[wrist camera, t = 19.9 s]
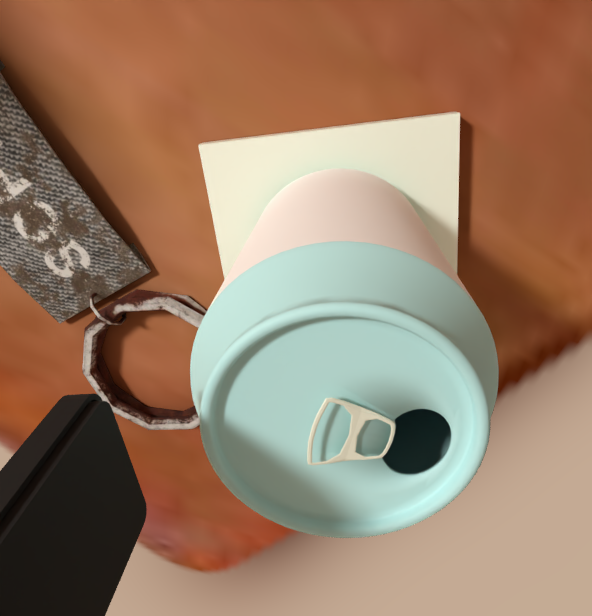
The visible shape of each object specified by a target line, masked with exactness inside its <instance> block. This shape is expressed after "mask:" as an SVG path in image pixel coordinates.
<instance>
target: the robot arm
mask: <svg viewBox="0 0 592 616" xmlns="http://www.w3.org/2000/svg"><path fill="white" fill-rule="evenodd" d="M145 518H146V502H145V499H144V496H143V494H142V491H141V488H140V485H139V483H138V480H137V477H136V474H135V471H134V469H133V466H132V463H131V460H130V458H129V455H128V452H127V449H126V446H125V444H124V441H123V438H122V435H121V433H120V430H119V427H118V424H117V422H116V419H115V416H114V413H113V410H112V408H111V406H110V404H109V403H108V402H107V401H102V399H101V397H100V396H99V395H97V394H79V395H66V396H63V397H62V398H61V399H60V400H59V401H58V402H57V403H56V405H55V406H54V407H53V408H52V409H51V411H50V412H49V413H48V414H47V415H46V417H45V418H44V419H43V420H42V421H41V423H40V424H39V425H38V426H37V427H36V429H35V430H34V431H33V432H32V433H31V435H30V436H29V437H28V438H27V439H26V441H25V442H24V443H23V444H22V445H21V447H20V448H19V449H18V450H17V452H16V453H15V454H14V455H13V456H12V458H11V459H10V460H9V461H8V462H7V464H6V465H5V466H4V467H3V468H2V470H1V471H0V616H105V614H106V612H107V609H108V607H109V605H110V602H111V600H112V598H113V595H114V593H115V591H116V588H117V586H118V584H119V581H120V579H121V576H122V574H123V572H124V569H125V567H126V565H127V562H128V560H129V558H130V555H131V553H132V551H133V548H134V546H135V544H136V541H137V539H138V537H139V534H140V532H141V530H142V527H143V525H144V522H145Z"/></svg>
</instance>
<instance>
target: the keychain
mask: <svg viewBox="0 0 592 616" xmlns="http://www.w3.org/2000/svg"><path fill="white" fill-rule="evenodd" d="M4 68H5V66H4V64H3V63H2V62H1V60H0V71H1V70H2V69H4ZM0 265H1V266H2V267H3V269H4V270H5V271H6V272H7V273H8V274H9V275H10V276H11V278H12V279H13V280H14V281H15V282H16V283H17V284H18V285H19V286H21V287H22V288H23V289H24V290H25V291H26V292H27V293H28V294H29V295H30V296H31V297H32V298H33V299H34V300H35V301H36V302H38V303H39V304H40V305H41V306H42V307H43V308H44V309H45V310H46V311H47V312H48V313H49V314H50V315H51V316H52V317H54V318H55V319H56V320H57V321H58V322H59V323H62V322H64V321H65V320H67V319H69V318H71V317H72V316H74V315H76V314H78V313H79V312H81V311H83V310H85V309H86V308H88V307H91V309H92V310H93V312H94V313H95V314H96V318H95V319H94V320H93V321H92V322H91V323H90V324H89V325H88V326H87V327H86V328H85V335H84V354H83V374H84V375H85V376H86V378H87V379H88V381H89V382H90V384H91V385H92V387H93V388H94V390H95V391H96V393H97V394H98V395H99V396H100V397H101V399H102V401H107V402H108V403H109V404H110V406H111V408H112V410H113V412H114V413H116V414H118V415H120V416H122V417H124V418H126V419H128V420H130V421H132V422H134V423H136V424H138V425H140V426H142V427H144V428H146V429H148V430H165V429H193V428H196V427H197V426H199V425H200V419H199V416H198V414H197V411H196V408H195V406H193V407H191V408H189V409H187V410H185V411H177V410H169V409H161V408H153V407H146V406H144V405H143V404H142V403H140V402H139V401H137V400H136V399H134V398H133V397H132V396H130V395H129V394H127V393H126V392H125V391H123V390H122V389H120V388H119V387H118V386H116V385H115V384H114V383H113V380H112V378H111V376H110V373H109V371H108V369H107V367H106V364H105V362H104V360H103V357H102V355H101V353H100V351H101V348H102V345H103V341H104V338H105V335H106V331H107V328H108V327H109V326H110V325H121V324H122V323H123V322H124V321H125V320H126V313H125V312H135V311H157V310H167V311H169V312H170V313H172V314H174V315H176V316H178V317H179V318H181V319H183V320H185V321H187V322H188V323H190V324H192V325H194V326H196V327H198V328H199V326H200V324H201V322H202V320H203V318H204V316H205V314H206V312H207V311H206V310H205V309H203V308H202V307H201V306H200V305H198V304H197V303H196V302H195V301H193V300H192V299H191V298H190V297H188V296H186V295H177V294H169V293H161V292H153V291H145V290H135V291H133V292H131V293H129V294H128V295H126V296H124V297H122V298H121V299H117V300H116V301H115V302H113V303H112V304H110V305H108V306H106V307H105V308H103V309H101V310H99V311H98V310H97V309H96V307H95V306H94V304H95V303H97V302H99V301H100V300H102V299H104V298H106V297H107V296H109V295H111V294H113V293H114V292H116V291H118V290H120V289H121V288H123V287H125V286H127V285H128V284H130V283H132V282H133V281H135V280H137V279H139V278H140V277H142V276H144V275H146V274H147V273H149V272H150V271H151V269H150V268H149V266H148V264H147V263H146V261H145V259H144V258H143V256H142V254H141V253H140V252H139V250H138V249H137V247H136V246H135V245H134V243H132V244H130V245H129V246H128V245H127V244H126V242H125V241H124V240H123V239H122V238H121V237H120V236H119V234H118V233H117V232H116V231H115V230H114V229H113V227H112V226H111V225H110V224H109V223H108V222H107V220H106V219H105V218H104V216H103V215H102V214H101V212H100V211H99V210H98V209H97V207H96V206H95V205H94V203H93V202H92V201H91V199H90V198H89V197H88V195H87V194H86V193H85V191H84V190H83V189H82V187H81V186H80V185H79V183H78V182H77V181H76V179H75V178H74V177H73V176H72V174H71V173H70V172H69V170H68V169H67V168H66V166H65V165H64V164H63V162H62V161H61V159H60V158H59V157H58V155H57V154H56V152H55V151H54V150H53V148H52V147H51V145H50V144H49V143H48V141H47V140H46V138H45V137H44V136H43V134H42V133H41V131H40V130H39V129H38V127H37V126H36V124H35V123H34V122H33V120H32V119H31V117H30V116H29V115H28V113H27V112H26V110H25V109H24V108H23V106H22V105H21V103H20V102H19V101H18V99H17V98H16V96H15V94H14V93H13V91H12V90H11V88H10V86H9V85H8V83H7V82H6V80H5V78H4V77H3V75H2V74H1V72H0ZM121 315H122V319H121V320H120V321H119V322H114V321H116V320H117V319H118V318H119V317H120V316H121Z"/></svg>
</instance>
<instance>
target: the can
mask: <svg viewBox="0 0 592 616" xmlns="http://www.w3.org/2000/svg"><path fill="white" fill-rule="evenodd" d="M498 376H499V368H498V357H497V352H496V347H495V342H494V340H493V337H492V334H491V331H490V328H489V326H488V324H487V322H486V320H485V318H484V316H483V314H482V313H481V311H480V310H479V308H478V307H477V305H476V303H475V302H474V300H473V299H472V297H471V296H470V294H469V293H468V291H467V290H466V288H465V287H464V285H463V283H462V282H461V280H460V279H459V277H458V276H457V274H456V273H455V271H454V270H453V268H452V267H451V265H450V263H449V262H448V260H447V259H446V257H445V256H444V254H443V253H442V251H441V250H440V248H439V247H438V245H437V243H436V242H435V240H434V239H433V237H432V236H431V234H430V233H429V231H428V230H427V228H426V226H425V225H424V223H423V222H422V220H421V219H420V217H419V216H418V214H417V213H416V211H415V210H414V208H413V206H412V205H411V203H410V202H409V201H408V200H407V198H406V197H405V196H404V195H403V194H402V193H401V192H400V191H399V190H398V189H396V188H395V187H394V186H393V185H391V184H390V183H388V182H387V181H385V180H383V179H381V178H379V177H377V176H375V175H373V174H370V173H367V172H363V171H360V170H354V169H344V168H337V169H326V170H321V171H316V172H313V173H310V174H307V175H305V176H303V177H300V178H298V179H296V180H295V181H293V182H291V183H290V184H288V185H287V186H286V187H284V188H283V189H282V190H281V191H280V192H279V193H277V194H276V195H275V197H274V198H273V199H272V200H271V201H270V202H269V204H268V205H267V206H266V208H265V210H264V211H263V213H262V215H261V216H260V218H259V220H258V222H257V224H256V225H255V227H254V229H253V231H252V232H251V234H250V236H249V238H248V240H247V241H246V243H245V245H244V247H243V248H242V250H241V252H240V254H239V256H238V257H237V259H236V261H235V263H234V264H233V266H232V268H231V270H230V272H229V273H228V275H227V277H226V279H225V280H224V282H223V284H222V286H221V288H220V289H219V291H218V293H217V295H216V296H215V298H214V300H213V302H212V304H211V305H210V307H209V309H208V311H207V312H206V314H205V316H204V318H203V320H202V322H201V324H200V326H199V329H198V331H197V334H196V337H195V341H194V344H193V349H192V354H191V365H190V377H191V390H192V396H193V401H194V404H195V408H196V411H197V414H198V416H199V419H200V432H201V438H202V442H203V446H204V449H205V452H206V454H207V457H208V459H209V461H210V463H211V465H212V467H213V469H214V471H215V472H216V474H217V475H218V477H219V478H220V480H221V481H222V482H223V483H224V484H225V486H226V487H227V488H228V489H229V490H230V491H231V492H232V493H233V494H234V495H235V496H236V497H237V498H238V499H239V500H241V501H242V502H243V503H244V504H245V505H247V506H248V507H250V508H251V509H252V510H254V511H255V512H257V513H259V514H260V515H262V516H264V517H265V518H267V519H269V520H271V521H273V522H275V523H278V524H280V525H282V526H285V527H287V528H290V529H294V530H297V531H300V532H304V533H308V534H312V535H318V536H325V537H336V538H359V537H369V536H376V535H381V534H386V533H390V532H394V531H398V530H401V529H404V528H407V527H409V526H412V525H414V524H416V523H418V522H421V521H422V520H424V519H426V518H428V517H430V516H432V515H433V514H435V513H437V512H438V511H440V510H441V509H443V508H444V507H445V506H447V505H448V504H449V503H450V502H452V501H453V500H454V499H455V498H456V497H457V496H458V495H459V494H460V493H461V492H462V491H463V490H464V488H465V487H466V486H467V485H468V484H469V483H470V481H471V480H472V478H473V477H474V475H475V474H476V472H477V470H478V468H479V467H480V465H481V463H482V460H483V458H484V455H485V452H486V449H487V445H488V442H489V435H490V418H491V415H492V413H493V410H494V406H495V402H496V398H497V391H498Z"/></svg>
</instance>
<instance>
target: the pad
mask: <svg viewBox="0 0 592 616" xmlns="http://www.w3.org/2000/svg"><path fill="white" fill-rule="evenodd" d="M459 144H460V113H458V112H449V113H440V114H432V115H424V116H416V117H408V118H400V119H392V120H383V121H375V122H367V123H359V124H351V125H343V126H334V127H326V128H318V129H310V130H302V131H294V132H285V133H277V134H269V135H261V136H253V137H245V138H237V139H228V140H220V141H212V142H204V143H201V144H199V151H200V156H201V161H202V166H203V171H204V176H205V181H206V187H207V192H208V197H209V202H210V207H211V212H212V217H213V223H214V228H215V233H216V238H217V243H218V248H219V253H220V258H221V264H222V269H223V274H224V279H226V277H227V275H228V273H229V272H230V270H231V268H232V266H233V264H234V263H235V261H236V259H237V257H238V256H239V254H240V252H241V250H242V248H243V247H244V245H245V243H246V241H247V240H248V238H249V236H250V234H251V232H252V231H253V229H254V227H255V225H256V224H257V222H258V220H259V218H260V216H261V215H262V213H263V211H264V210H265V208H266V206H267V205H268V204H269V202H270V201H271V200H272V199H273V198H274V197H275V195H276V194H277V193H279V192H280V191H281V190H282V189H283V188H284V187H286V186H287V185H288V184H290V183H291V182H293V181H295V180H296V179H298V178H300V177H303V176H305V175H307V174H310V173H313V172H316V171H321V170H326V169H337V168H344V169H354V170H360V171H363V172H367V173H370V174H373V175H375V176H377V177H379V178H381V179H383V180H385V181H387V182H388V183H390V184H391V185H393V186H394V187H395V188H396V189H398V190H399V191H400V192H401V193H402V194H403V195H404V196H405V197H406V198H407V200H408V201H409V202H410V203H411V205H412V206H413V208H414V210H415V211H416V213H417V214H418V216H419V217H420V219H421V220H422V222H423V223H424V225H425V226H426V228H427V230H428V231H429V233H430V234H431V236H432V237H433V239H434V240H435V242H436V243H437V245H438V247H439V248H440V250H441V251H442V253H443V254H444V256H445V257H446V259H447V260H448V262H449V263H450V265H451V267H452V268H453V270H454V271H455V273H456V274H457V255H458V199H459Z"/></svg>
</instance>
